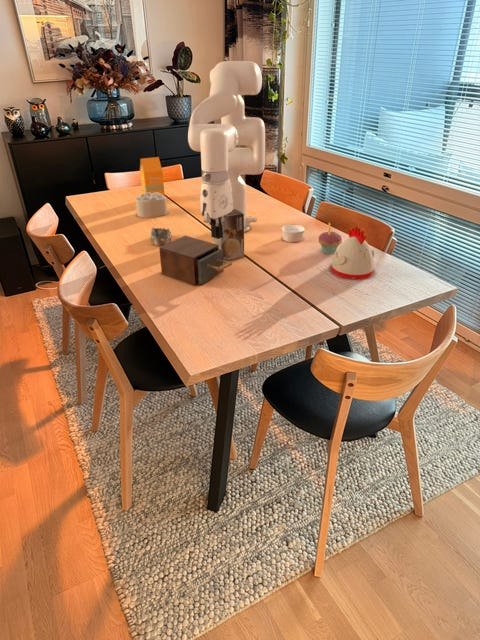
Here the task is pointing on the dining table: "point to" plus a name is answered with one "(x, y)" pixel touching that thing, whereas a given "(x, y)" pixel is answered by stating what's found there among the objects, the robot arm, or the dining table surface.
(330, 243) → the cupcake
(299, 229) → the ramekin
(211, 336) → the dining table surface
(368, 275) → the kitchen timer
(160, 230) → the egg carton
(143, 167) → the orange juice
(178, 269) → the cabinet
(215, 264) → the drawer
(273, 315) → the dining table surface
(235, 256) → the coffee box
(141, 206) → the lumpy-topped squat cylinder
